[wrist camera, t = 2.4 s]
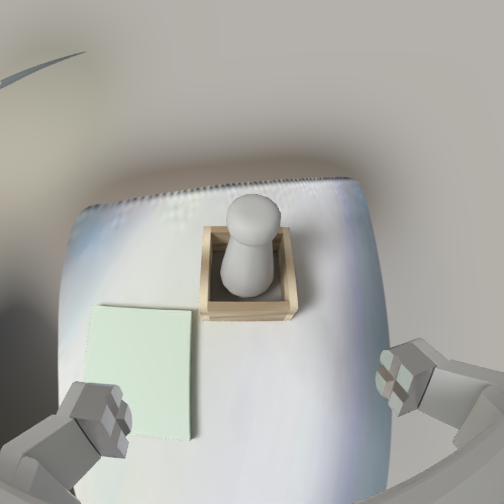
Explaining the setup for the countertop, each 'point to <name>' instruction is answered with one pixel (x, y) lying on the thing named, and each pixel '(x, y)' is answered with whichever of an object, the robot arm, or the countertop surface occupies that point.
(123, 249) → the countertop surface
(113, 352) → the sage mat
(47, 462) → the robot arm
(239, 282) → the salt shaker
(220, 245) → the wooden box
